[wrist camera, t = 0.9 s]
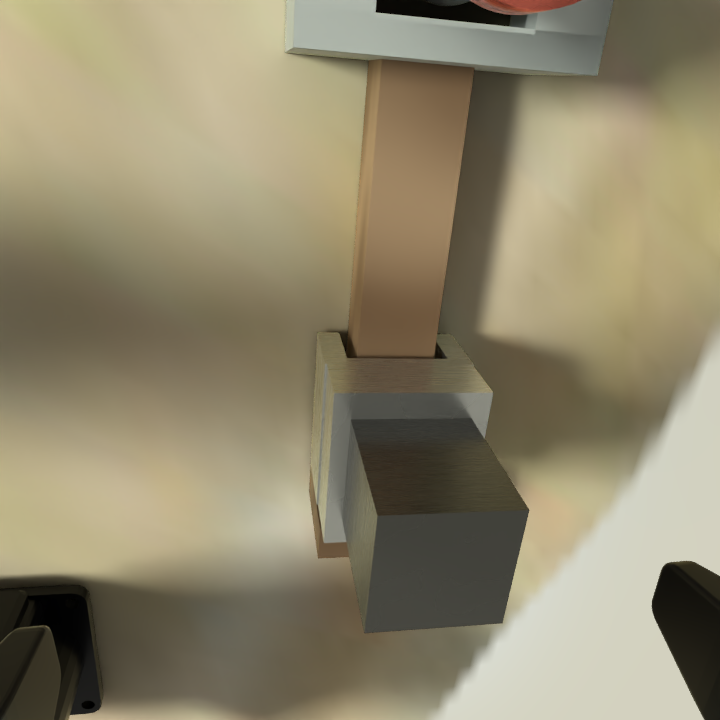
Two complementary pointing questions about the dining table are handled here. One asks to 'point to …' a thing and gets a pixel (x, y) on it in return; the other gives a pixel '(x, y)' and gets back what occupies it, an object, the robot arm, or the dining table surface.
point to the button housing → (453, 37)
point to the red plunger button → (511, 5)
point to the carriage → (414, 487)
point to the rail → (403, 215)
